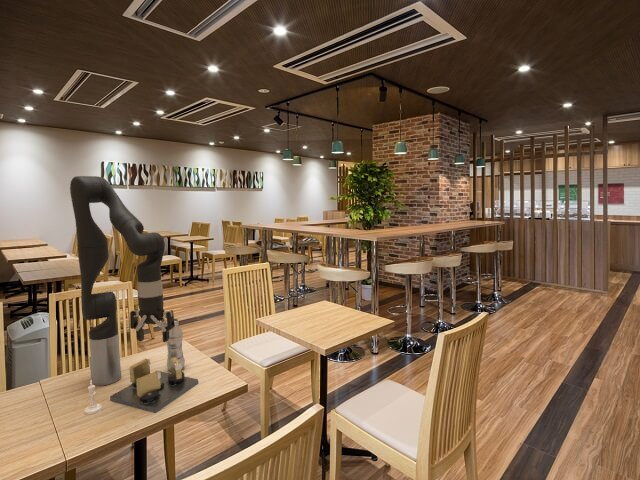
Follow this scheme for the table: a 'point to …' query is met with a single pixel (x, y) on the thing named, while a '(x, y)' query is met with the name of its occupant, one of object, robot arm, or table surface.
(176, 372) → the knob
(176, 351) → the plastic bottle
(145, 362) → the knob
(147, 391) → the knob
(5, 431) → the table surface
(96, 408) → the chess piece
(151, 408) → the plate
